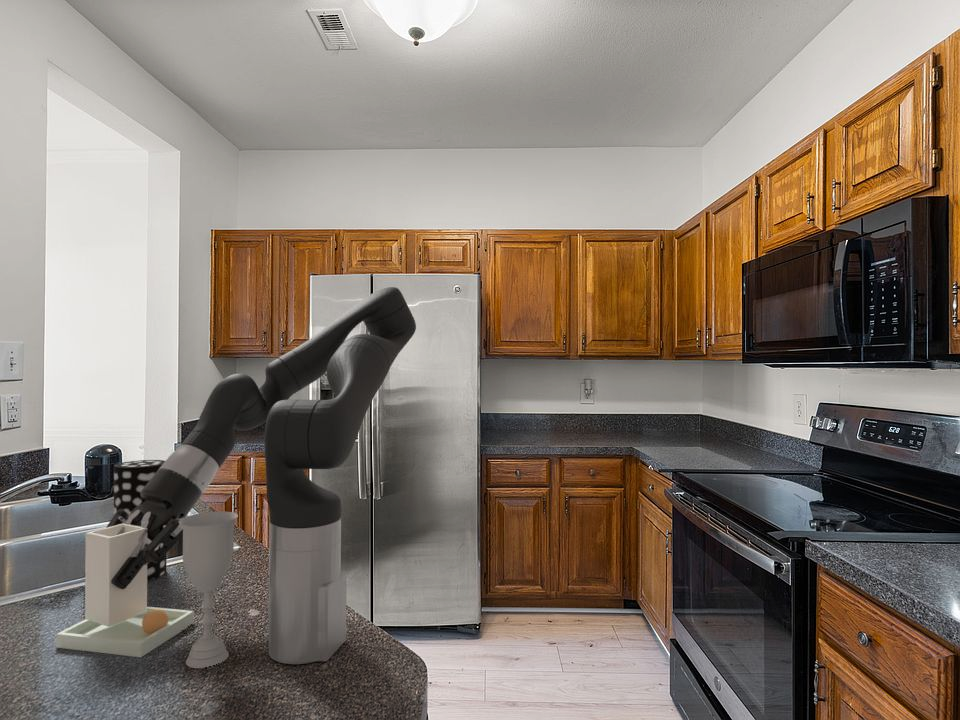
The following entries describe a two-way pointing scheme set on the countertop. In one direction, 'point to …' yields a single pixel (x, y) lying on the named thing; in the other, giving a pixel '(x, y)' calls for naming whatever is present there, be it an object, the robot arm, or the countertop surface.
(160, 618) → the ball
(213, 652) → the chalice
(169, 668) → the countertop surface
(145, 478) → the white-spotted black cylinder
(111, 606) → the cup
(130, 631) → the tray
